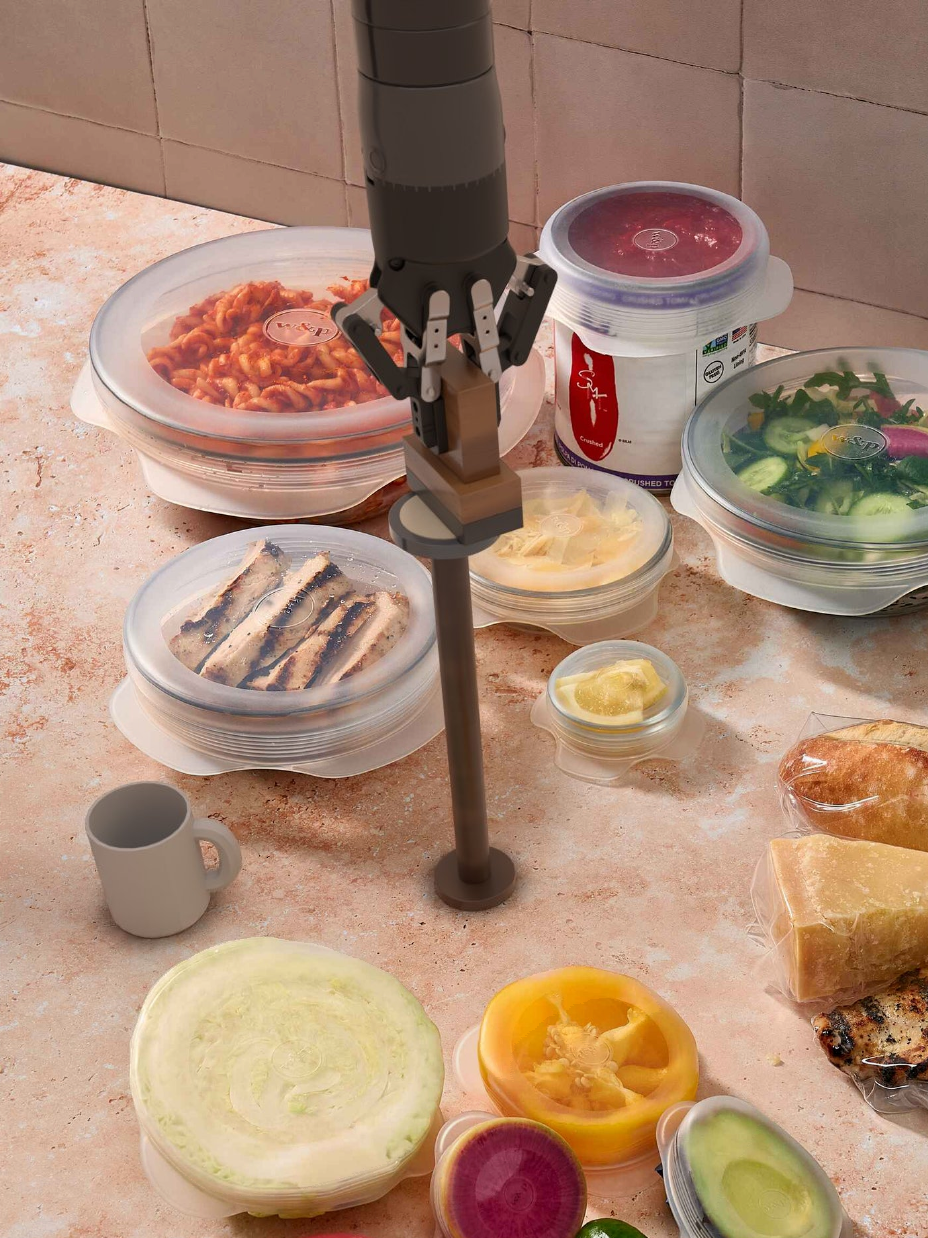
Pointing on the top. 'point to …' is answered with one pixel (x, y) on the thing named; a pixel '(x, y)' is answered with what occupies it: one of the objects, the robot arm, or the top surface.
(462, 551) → the plate
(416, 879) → the top surface
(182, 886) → the cup
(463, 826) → the stand
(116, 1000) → the top surface
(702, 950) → the top surface
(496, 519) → the brush
